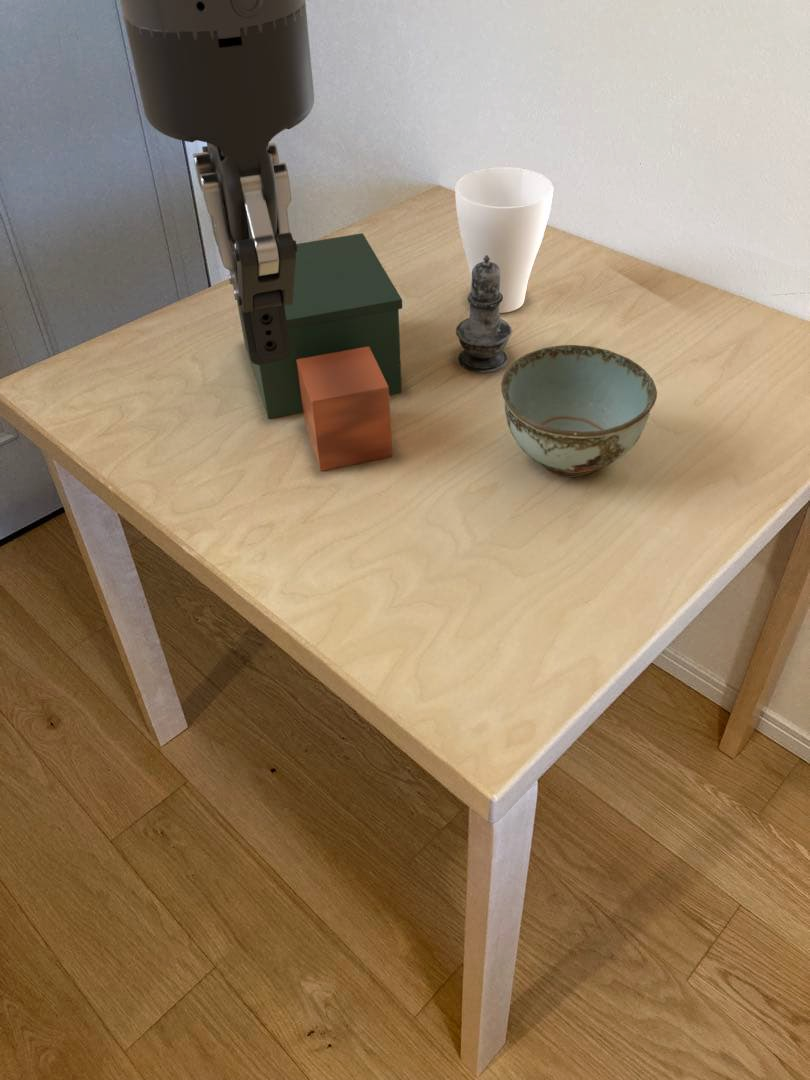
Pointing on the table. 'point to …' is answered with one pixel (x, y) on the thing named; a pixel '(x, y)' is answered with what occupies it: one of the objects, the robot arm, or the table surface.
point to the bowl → (576, 406)
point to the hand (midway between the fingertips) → (269, 355)
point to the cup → (504, 224)
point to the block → (345, 407)
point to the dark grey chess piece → (484, 323)
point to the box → (334, 317)
